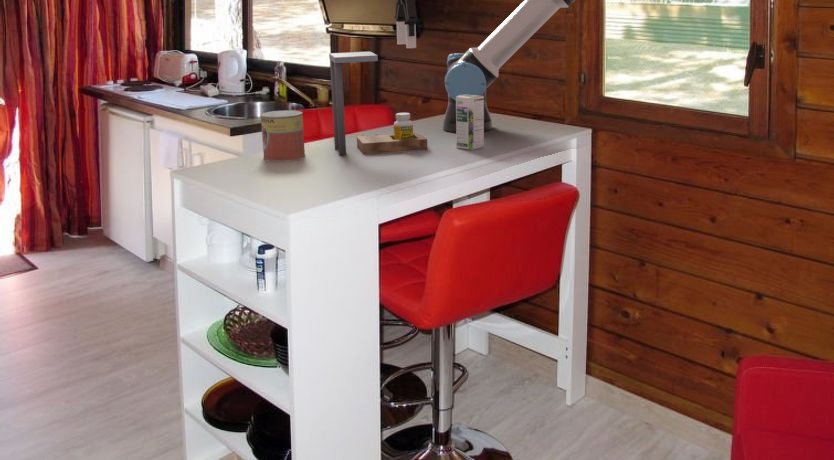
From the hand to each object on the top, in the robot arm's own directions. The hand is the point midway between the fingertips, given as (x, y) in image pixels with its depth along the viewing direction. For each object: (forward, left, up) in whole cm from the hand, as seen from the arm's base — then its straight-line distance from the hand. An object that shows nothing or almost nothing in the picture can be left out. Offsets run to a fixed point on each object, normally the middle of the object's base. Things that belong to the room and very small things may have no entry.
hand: (406, 46), depth 268 cm
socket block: (+8, +15, -27) cm, 31 cm away
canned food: (+38, +17, -27) cm, 50 cm away
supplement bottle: (+5, +15, -27) cm, 31 cm away
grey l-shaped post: (+18, +15, -27) cm, 35 cm away
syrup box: (-13, +21, -27) cm, 37 cm away
